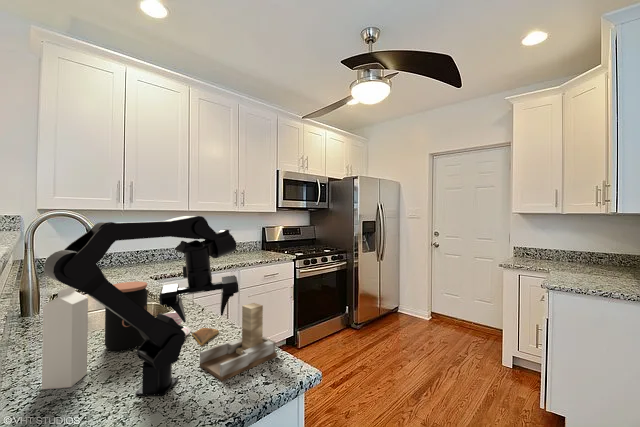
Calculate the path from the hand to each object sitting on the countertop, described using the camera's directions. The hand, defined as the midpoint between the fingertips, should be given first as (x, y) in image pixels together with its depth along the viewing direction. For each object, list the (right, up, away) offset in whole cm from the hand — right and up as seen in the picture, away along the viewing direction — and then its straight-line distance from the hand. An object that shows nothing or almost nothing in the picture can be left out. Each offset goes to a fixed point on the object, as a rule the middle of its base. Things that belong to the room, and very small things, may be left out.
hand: (203, 318), depth 80 cm
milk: (-29, -12, -10) cm, 32 cm away
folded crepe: (-5, -13, +16) cm, 21 cm away
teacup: (-18, -12, +19) cm, 29 cm away
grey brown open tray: (+10, -12, 0) cm, 15 cm away
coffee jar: (-27, -12, +10) cm, 31 cm away
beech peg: (+12, -11, +4) cm, 17 cm away
